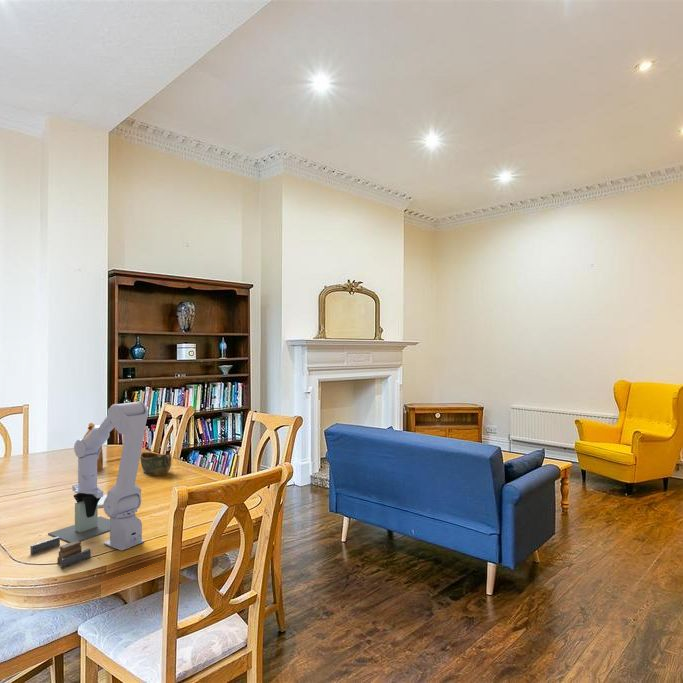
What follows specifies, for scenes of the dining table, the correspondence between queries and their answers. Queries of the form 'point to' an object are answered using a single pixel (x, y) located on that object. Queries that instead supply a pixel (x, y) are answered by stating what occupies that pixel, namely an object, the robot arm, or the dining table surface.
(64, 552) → the offcut stack
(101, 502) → the hard drive
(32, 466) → the dining table surface
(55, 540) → the offcut rack
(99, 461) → the coffee package
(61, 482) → the dining table surface
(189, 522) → the dining table surface
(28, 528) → the dining table surface
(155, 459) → the dark green bowl
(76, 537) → the slate mat
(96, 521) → the tall pastel pillar
